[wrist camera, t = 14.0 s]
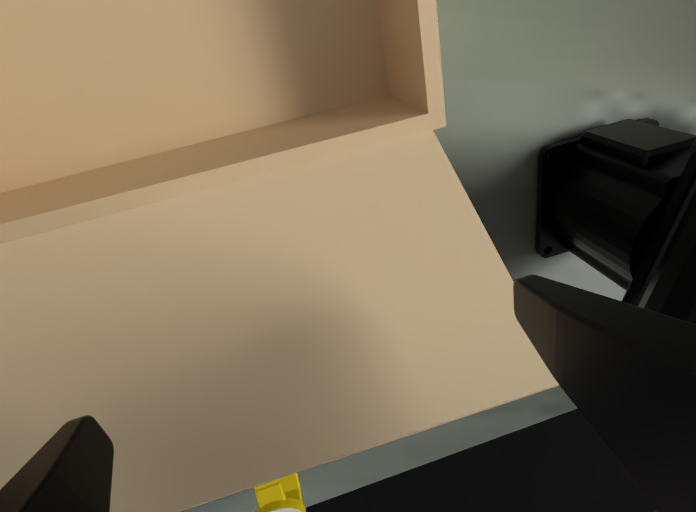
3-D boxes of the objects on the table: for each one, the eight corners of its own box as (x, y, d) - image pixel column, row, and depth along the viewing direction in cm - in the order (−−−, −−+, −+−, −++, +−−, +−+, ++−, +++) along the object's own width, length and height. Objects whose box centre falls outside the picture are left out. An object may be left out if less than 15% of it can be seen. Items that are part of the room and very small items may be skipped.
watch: (235, 409, 26) (232, 498, 21) (280, 394, 27) (287, 478, 21) (267, 473, 29) (272, 566, 24) (307, 459, 29) (320, 548, 24)
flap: (433, 130, 15) (431, 140, 16) (-114, 274, 14) (-99, 280, 14) (566, 381, 11) (558, 385, 12) (-197, 635, 9) (-173, 629, 10)
